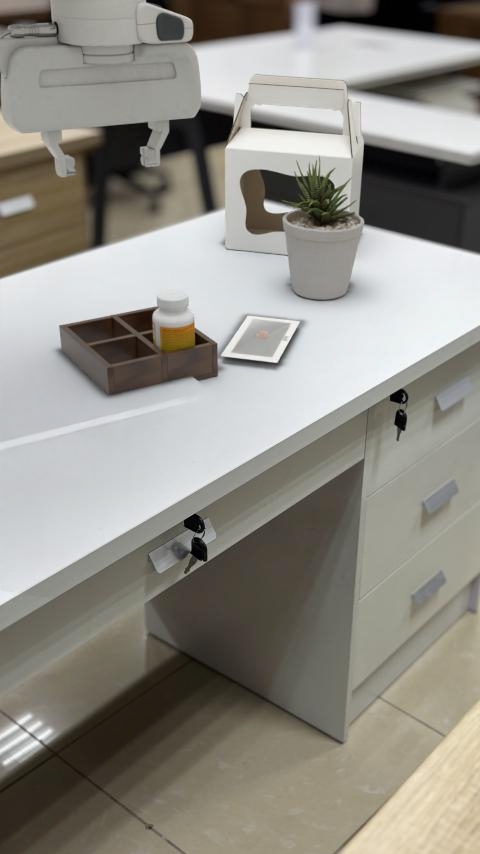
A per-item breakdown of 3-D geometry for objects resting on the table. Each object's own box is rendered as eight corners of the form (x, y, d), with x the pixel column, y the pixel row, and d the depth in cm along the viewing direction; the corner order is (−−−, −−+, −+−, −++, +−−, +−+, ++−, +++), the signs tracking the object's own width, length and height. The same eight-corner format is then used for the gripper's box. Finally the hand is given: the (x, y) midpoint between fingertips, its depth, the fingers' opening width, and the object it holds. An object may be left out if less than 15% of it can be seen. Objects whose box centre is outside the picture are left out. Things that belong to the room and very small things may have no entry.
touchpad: (220, 363, 128) (220, 348, 127) (247, 322, 140) (248, 308, 139) (277, 370, 126) (277, 355, 125) (299, 328, 139) (300, 314, 138)
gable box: (223, 249, 168) (222, 79, 153) (242, 228, 179) (243, 67, 164) (347, 261, 165) (358, 88, 150) (358, 239, 176) (370, 75, 160)
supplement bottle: (204, 366, 125) (202, 295, 120) (172, 378, 122) (169, 305, 116) (178, 353, 128) (175, 284, 123) (146, 364, 125) (142, 293, 120)
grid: (109, 402, 117) (107, 368, 115) (62, 357, 128) (58, 325, 125) (218, 375, 124) (217, 343, 122) (164, 335, 135) (163, 304, 133)
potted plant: (373, 284, 155) (384, 158, 145) (339, 311, 145) (347, 177, 134) (304, 270, 160) (310, 147, 149) (266, 295, 150) (269, 165, 139)
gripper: (3, 29, 83) (22, 189, 91) (207, 21, 93) (209, 166, 100) (-20, 21, 88) (0, 174, 95) (177, 14, 97) (181, 154, 105)
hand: (109, 170), depth 98 cm, fingers open, 8 cm apart
